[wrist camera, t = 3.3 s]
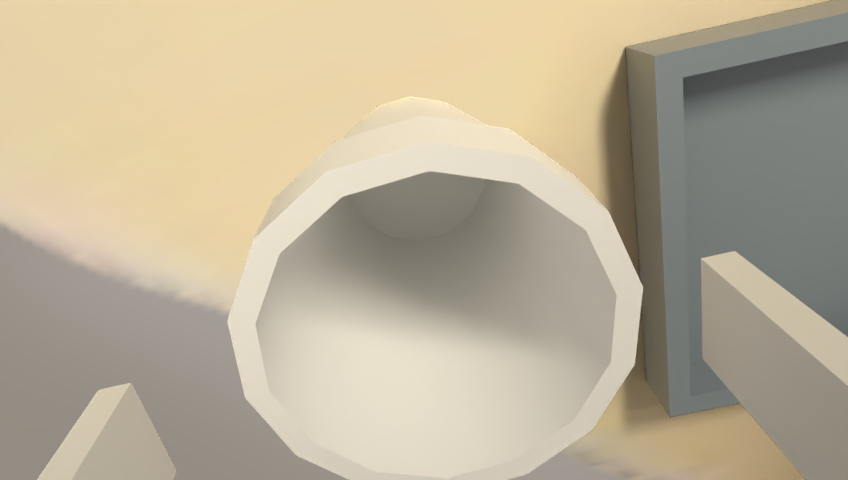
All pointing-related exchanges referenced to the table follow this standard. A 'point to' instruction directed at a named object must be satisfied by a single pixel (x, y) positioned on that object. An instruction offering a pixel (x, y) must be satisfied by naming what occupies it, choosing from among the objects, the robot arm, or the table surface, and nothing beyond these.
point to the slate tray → (738, 177)
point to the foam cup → (434, 303)
